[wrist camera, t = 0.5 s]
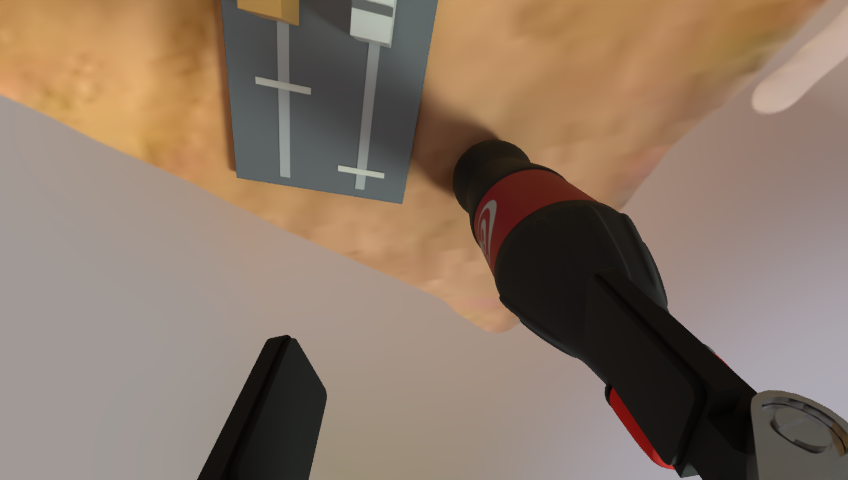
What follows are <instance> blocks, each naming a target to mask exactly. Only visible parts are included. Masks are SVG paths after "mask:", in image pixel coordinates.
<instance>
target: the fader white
mask: <svg viewBox="0 0 848 480" xmlns="http://www.w3.org/2000/svg"><path fill="white" fill-rule="evenodd" d="M396 3H397V0H352V13H351V27H350V35H351V36H352V37H354V38H355V39H356V40H359V41H363V42H367V43H372V44H376V45H380V46H384V47H389V48H391V42H392V35H393V27H394V19H395V11H396Z"/></svg>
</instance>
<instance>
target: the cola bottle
mask: <svg viewBox="0 0 848 480" xmlns="http://www.w3.org/2000/svg"><path fill="white" fill-rule="evenodd" d="M453 189H454V193H455V196H456V199H457V201H458V202H459V204H460V205H461V207H462V208H463V209H464V210H465V211H466V212H468V213H469V217H470V225H471V230H472V233H473V236H474V238H475V240H476V242H477V244H478V245H479V247H480V248H481V250H482V252H483V254H484V256H485V258H486V261H487V263H488V265H489V267H490V269H491V272H492V274H493V276H494V278H495V284H496V287H497V290H498V292H499V294H500V297H499V299H500V301H501V302H502V304H503V305H504V306H505V307H506V308H508V309H509V310H510V311H511V312H512V313H514V314H515V315H516V316H517V317H519V319H520V321H521V323H522V324H523V325H525V326H526V327H527V328H528V329H530V330H531V331H532V332H533V333H535V334H536V335H537V336H539V337H540V338H542V339H543V340H545V341H546V342H548V343H549V344H551V345H552V346H554V347H555V348H557V349H559V350H560V351H562V352H564V353H566V354H568V355H570V356H572V357H575V358H578V359H580V360H581V361H583V362H584V363H585V364H586V365H587V366H588V367H589V368H591V370H592V371H593V372H594V373H595V374H596V375H597V376H598V377H599V378H600V379H601V380H602V381H603V382H604V383H605V384H606V387H605V397H606V400H607V402H608V403H609V405H610V406H611V407H612V408H613V410H614V411H615V413H616V415H617V416H618V417H619V419H620V420H621V422H622V423H623V424H624V426H625V427H626V428H627V430H628V431H629V433H630V434H631V435H632V437H633V438H634V440H635V441H636V442H637V443H638V445H639V446H640V447H641V448H642V450H643V451H644V452H645V453H646V454H647V455H648V456H649V458H650V459H651V460H652V461H653V462H655V463H656V464H657V465H659V466H661V467H664V468H668V469H674V467H673V466H672V465H667V464H665V463H664V462H663V461H662V460H661V458H660V457H659V455H658V454H657V452H656V451H655V450H654V448H653V447H652V445H651V444H650V442H649V441H648V439H647V438H646V436H645V435H644V433H643V432H642V430H641V429H640V427H639V426H638V424H637V423H636V421H635V420H634V418H633V417H632V415H631V414H630V412H629V411H628V409H627V408H626V406H625V405H624V403H623V402H622V400H621V399H620V397H619V396H618V394H617V393H616V391H615V390H614V388H613V387H612V385H611V384H610V382H609V381H608V379H607V378H606V376H605V375H604V373H603V372H602V370H601V369H600V367H599V366H598V364H597V363H596V361H595V360H594V358H593V357H592V355H591V354H590V352H589V351H588V349H587V348H586V345H585V342H584V325H585V310H586V295H587V281H588V278H589V277H592V274H593V272H594V271H598V270H603V269H608V268H612V267H614V268H617V269H618V270H619V271H620V272H622V273H623V274H624V275H625V276H626V277H627V278H628V279H629V280H630V281H631V282H633V283H634V284H635V285H636V286H637V287H638V288H639V289H640V290H641V291H642V292H643V293H645V294H646V295H647V296H648V297H649V298H650V299H651V300H652V301H653V302H654V303H656V304H657V305H658V306H660V307H662V308H663V309H665V310H666V311H667V312H668V313H669V311H668V308H667V304H668V303H667V297H666V293H665V289H664V286H663V283H662V280H661V276H660V274H659V271H658V268H657V266H656V264H655V261H654V259H653V257H652V255H651V253H650V251H649V249H648V247H647V246H646V244H645V243H644V242H643V241H642V239H641V237H640V235H639V233H638V231H637V229H636V227H635V225H634V223H633V222H632V220H631V219H630V218H629V216H628V215H626V214H624V213H619V212H617V211H616V210H614V209H613V208H611V207H609V206H607V205H605V204H603V203H600V202H598V201H596V200H594V199H593V198H591V197H590V196H588V195H587V194H585V193H584V192H582V191H581V190H579V189H578V188H576V187H575V186H573V185H572V184H570V183H569V182H567V181H566V180H565V179H564V178H563V177H562V176H561V175H560V174H558V173H557V172H555V171H553V170H551V169H549V168H547V167H544V166H541V165H538V164H534V163H531V162H530V160H529V158H528V157H527V155H526V154H525V153H524V152H523V151H522V150H521V149H520V148H518V147H517V146H515V145H513V144H511V143H509V142H506V141H501V140H488V141H484V142H480V143H478V144H476V145H474V146H472V147H471V148H469V149H468V150H467V151H466V152H465V153H464V154H463V155H462V156H461V158H460V159H459V161H458V163H457V165H456V167H455V170H454V175H453ZM669 314H670V313H669ZM704 345H705V344H704ZM705 346H706V347H707V348H708V349H709V350H710V351H712V352H713V353H714V354H715V352H714V351H713V350H712V349H710V348H709V347H708V346H707V345H705ZM715 355H716V354H715ZM716 356H717V355H716ZM717 357H718V356H717ZM718 358H719V357H718ZM719 359H720V358H719ZM720 360H721V361H723V360H722V359H720ZM723 362H724V361H723ZM724 363H725V362H724ZM725 364H726V363H725ZM726 365H727V364H726ZM727 366H728V365H727ZM728 367H729V366H728ZM729 368H730V367H729ZM730 369H731V368H730ZM731 370H732V369H731ZM674 470H675V469H674Z"/></svg>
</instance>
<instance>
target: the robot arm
mask: <svg viewBox="0 0 848 480" xmlns="http://www.w3.org/2000/svg"><path fill="white" fill-rule="evenodd" d="M584 342H585V345H586V348H587V349H588V351H589V352H590V354H591V355H592V357H593V358H594V360H595V361H596V363H597V364H598V366H599V367H600V369H601V370H602V372H603V373H604V375H605V376H606V378H607V379H608V381H609V382H610V384H611V385H612V387H613V388H614V390H615V391H616V393H617V394H618V396H619V397H620V399H621V400H622V402H623V403H624V405H625V406H626V408H627V409H628V411H629V412H630V414H631V415H632V417H633V418H634V420H635V421H636V423H637V424H638V426H639V427H640V429H641V430H642V432H643V433H644V435H645V436H646V438H647V439H648V441H649V442H650V444H651V445H652V447H653V448H654V450H655V451H656V452H657V454H658V455H659V457H660V458H661V460H662V461H663V462H664V463H665V464H667V465H672V466H673V467H674V469H675V470H676V472H677V473H678V475H679V476H680V478H683V477H689V476H694V475H700V477H701V478H702V480H848V423H847V422H846V421H845V420H844V419H843V418H841V417H840V416H838V415H837V414H836V413H834V412H833V411H832V410H830V409H828V408H827V407H825V406H823V405H821V404H819V403H817V402H815V401H813V400H811V399H808V398H805V397H803V396H800V395H797V394H794V393H789V392H785V391H774V390H768V391H763V392H760V393H757V392H756V391H755V390H754V389H752V388H751V387H750V386H749V385H748V384H747V383H746V382H745V381H744V380H743V379H741V378H740V377H739V376H738V375H737V374H736V373H735V372H734V371H733V370H731V369H730V368H729V367H728V366H727V365H726V364H725V363H724V362H723V361H721V360H720V359H719V358H718V357H717V356H716V355H715V354H714V353H713V352H712V351H710V350H709V349H708V348H707V347H706V346H705V345H704V344H703V343H701V342H700V341H699V340H698V339H697V338H696V337H695V336H694V335H693V334H692V333H690V332H689V331H688V330H687V329H686V328H685V327H684V326H683V325H682V324H680V323H679V322H678V321H677V320H676V319H675V318H674V317H673V316H672V315H670V314H669V313H668V312H667V311H666V310H665V309H663V308H662V307H660V306H658V305H657V304H656V303H654V302H653V301H652V300H651V299H650V298H649V297H648V296H647V295H646V294H645V293H643V292H642V291H641V290H640V289H639V288H638V287H637V286H636V285H635V284H634V283H633V282H631V281H630V280H629V279H628V278H627V277H626V276H625V275H624V274H623V273H622V272H620V271H619V270H618V269H617V268H614V267H612V268H608V269H603V270H598V271H594V272H593V274H592V277H589V278H588V281H587V295H586V310H585V325H584ZM326 400H327V394H326V389H325V387H324V386H323V384H322V382H321V381H320V379H319V377H318V376H317V374H316V372H315V370H314V369H313V367H312V365H311V364H310V362H309V360H308V358H307V357H306V355H305V353H304V352H303V350H302V348H301V347H300V345H299V343H298V342H297V340H296V339H294V338H291V337H290V336H289V335H284V336H279V337H274V338H270V339H268V340H267V341H266V343H265V345H264V347H263V349H262V351H261V353H260V355H259V357H258V359H257V361H256V363H255V365H254V367H253V369H252V371H251V373H250V375H249V377H248V379H247V381H246V383H245V385H244V387H243V389H242V391H241V393H240V395H239V397H238V399H237V401H236V403H235V405H234V407H233V409H232V411H231V413H230V415H229V417H228V419H227V421H226V423H225V425H224V427H223V429H222V431H221V433H220V435H219V437H218V439H217V441H216V443H215V445H214V447H213V449H212V451H211V453H210V455H209V457H208V459H207V461H206V463H205V465H204V467H203V469H202V471H201V473H200V475H199V477H198V479H197V480H309V475H310V471H311V467H312V462H313V458H314V453H315V448H316V444H317V440H318V436H319V431H320V427H321V422H322V418H323V414H324V409H325V405H326Z"/></svg>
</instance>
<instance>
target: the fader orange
mask: <svg viewBox="0 0 848 480" xmlns="http://www.w3.org/2000/svg"><path fill="white" fill-rule="evenodd" d="M237 6H238V8H239V9H241V10H244V11H246V12H249V13H251V14H254V15H257V16H259V17H262V18H265V19H270V20H274V21H278V22H282V23H287V24H291V25H295V26H299V0H237Z"/></svg>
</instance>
